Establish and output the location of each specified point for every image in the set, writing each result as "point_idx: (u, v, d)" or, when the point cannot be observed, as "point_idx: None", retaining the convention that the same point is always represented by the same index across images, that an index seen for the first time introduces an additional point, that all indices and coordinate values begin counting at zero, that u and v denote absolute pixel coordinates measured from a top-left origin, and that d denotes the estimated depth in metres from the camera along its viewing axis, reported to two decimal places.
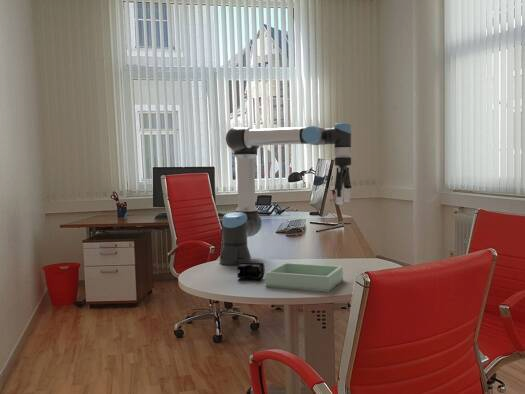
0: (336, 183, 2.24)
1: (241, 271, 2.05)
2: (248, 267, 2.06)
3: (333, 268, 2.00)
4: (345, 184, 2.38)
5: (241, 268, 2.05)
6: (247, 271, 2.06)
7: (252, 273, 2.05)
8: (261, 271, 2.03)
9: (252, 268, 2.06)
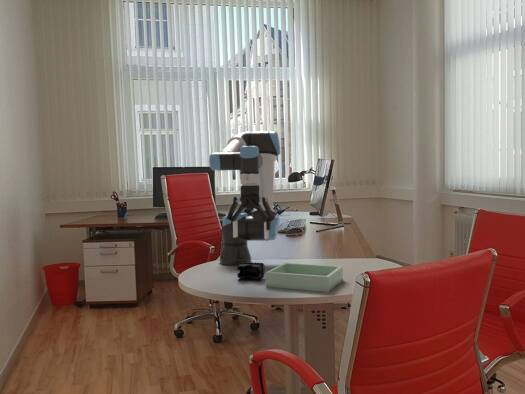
0: None
1: (241, 271, 2.05)
2: (248, 267, 2.06)
3: (333, 268, 2.00)
4: None
5: (241, 268, 2.05)
6: (247, 271, 2.06)
7: (252, 273, 2.05)
8: (261, 271, 2.03)
9: (252, 268, 2.06)
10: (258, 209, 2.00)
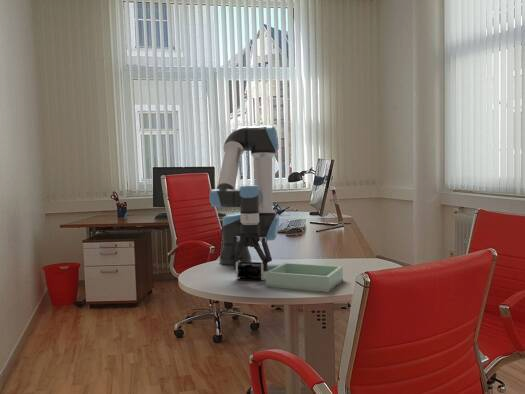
0: None
1: (241, 271, 2.05)
2: (248, 267, 2.06)
3: (333, 268, 2.00)
4: None
5: (241, 268, 2.06)
6: (247, 271, 2.06)
7: (252, 273, 2.05)
8: None
9: (252, 268, 2.06)
10: (257, 249, 2.01)
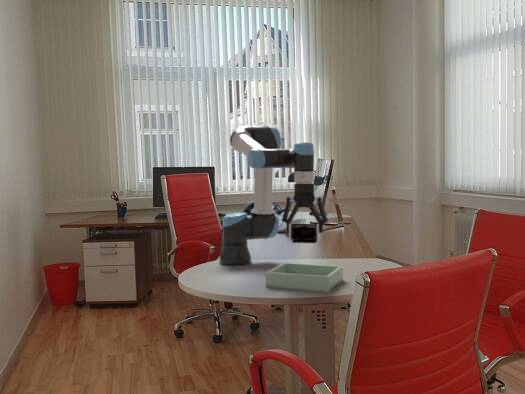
0: None
1: (294, 233, 1.96)
2: (301, 229, 1.96)
3: (333, 268, 2.00)
4: None
5: (294, 230, 1.96)
6: (300, 233, 1.97)
7: (306, 235, 1.95)
8: (316, 232, 1.93)
9: (306, 230, 1.96)
10: (312, 209, 1.91)
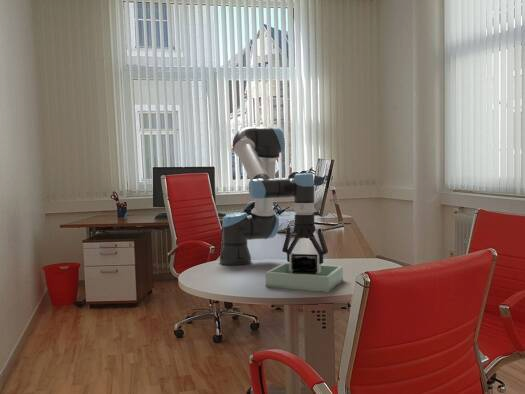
0: None
1: (295, 263, 1.96)
2: (302, 259, 1.97)
3: (333, 268, 2.00)
4: None
5: (295, 260, 1.96)
6: (301, 263, 1.97)
7: (306, 265, 1.96)
8: (316, 263, 1.93)
9: (306, 260, 1.97)
10: (312, 240, 1.92)
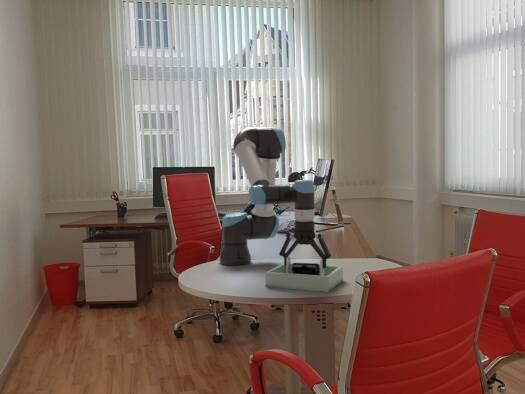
0: None
1: (295, 272, 1.97)
2: (302, 268, 1.97)
3: (333, 268, 2.00)
4: None
5: (295, 269, 1.97)
6: (301, 272, 1.97)
7: (306, 274, 1.96)
8: (316, 272, 1.93)
9: (306, 269, 1.97)
10: (314, 246, 1.91)
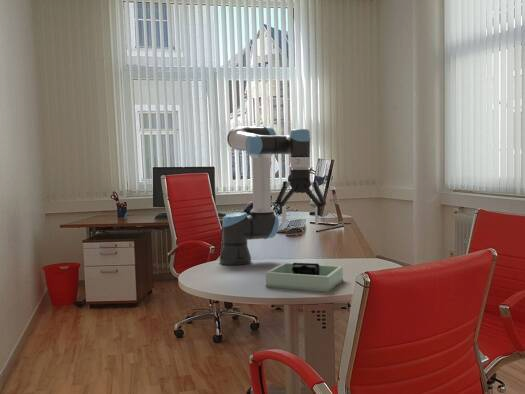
0: None
1: (295, 272, 1.97)
2: (302, 268, 1.97)
3: (333, 268, 2.00)
4: None
5: (295, 269, 1.97)
6: (301, 272, 1.97)
7: (306, 274, 1.96)
8: (316, 272, 1.93)
9: (306, 269, 1.97)
10: (309, 194, 1.95)
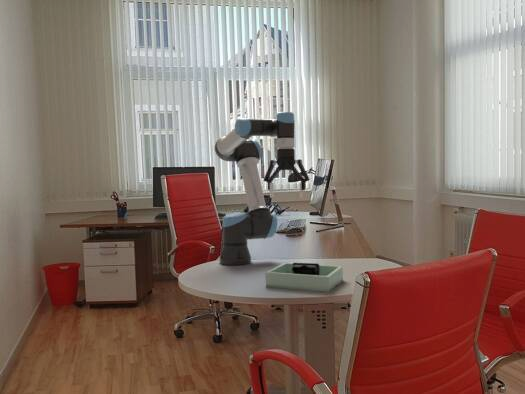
0: None
1: (295, 272, 1.97)
2: (302, 268, 1.97)
3: (333, 268, 2.00)
4: None
5: (295, 269, 1.97)
6: (301, 272, 1.97)
7: (306, 274, 1.96)
8: (316, 272, 1.93)
9: (306, 269, 1.97)
10: (294, 170, 2.15)
